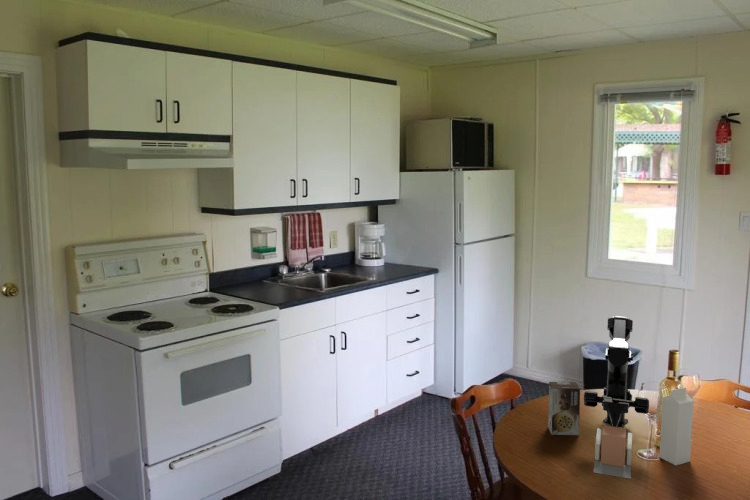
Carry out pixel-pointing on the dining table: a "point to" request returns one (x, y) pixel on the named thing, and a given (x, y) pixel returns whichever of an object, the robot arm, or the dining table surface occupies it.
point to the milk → (676, 427)
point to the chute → (613, 469)
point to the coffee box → (564, 408)
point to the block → (613, 446)
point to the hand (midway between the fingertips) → (614, 428)
